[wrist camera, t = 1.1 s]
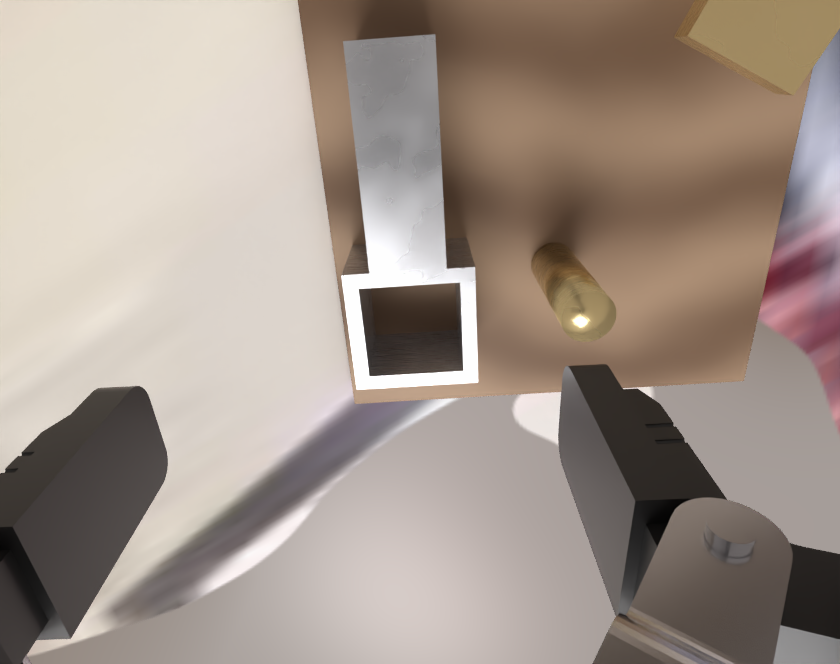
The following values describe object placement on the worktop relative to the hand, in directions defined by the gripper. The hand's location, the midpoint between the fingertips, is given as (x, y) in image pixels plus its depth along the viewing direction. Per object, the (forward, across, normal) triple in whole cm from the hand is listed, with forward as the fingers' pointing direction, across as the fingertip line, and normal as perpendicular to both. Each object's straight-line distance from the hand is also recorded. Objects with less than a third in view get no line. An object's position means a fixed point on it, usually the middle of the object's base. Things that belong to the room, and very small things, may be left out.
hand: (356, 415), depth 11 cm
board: (+16, -7, 0) cm, 18 cm away
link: (+15, -1, 0) cm, 15 cm away
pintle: (+15, -7, +3) cm, 17 cm away
